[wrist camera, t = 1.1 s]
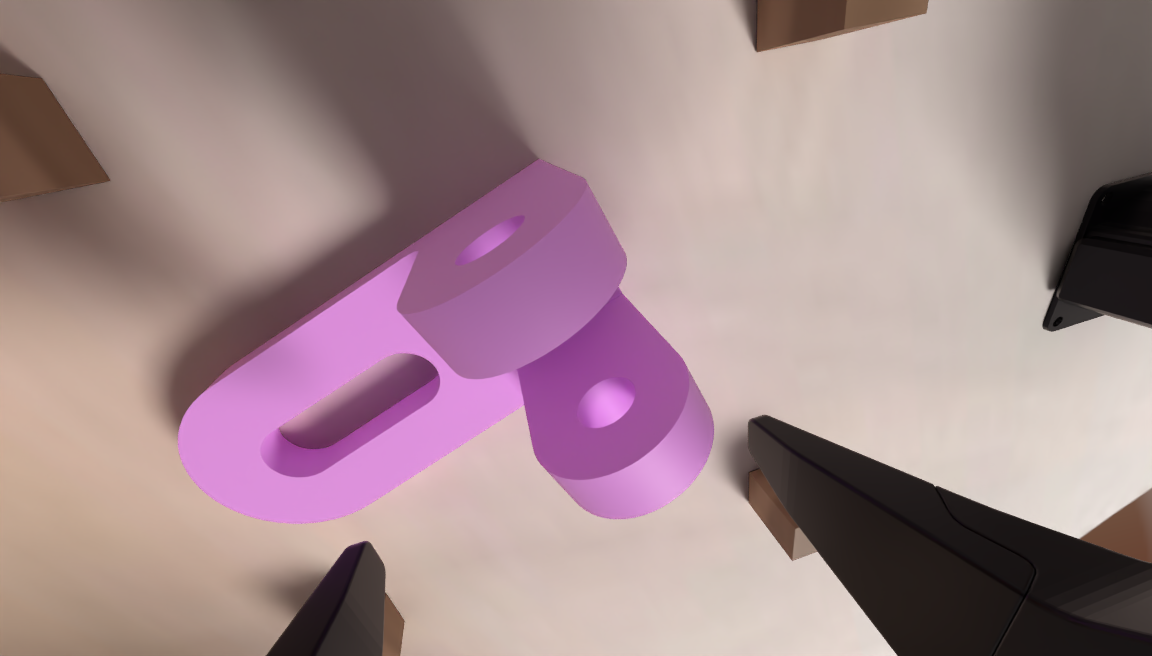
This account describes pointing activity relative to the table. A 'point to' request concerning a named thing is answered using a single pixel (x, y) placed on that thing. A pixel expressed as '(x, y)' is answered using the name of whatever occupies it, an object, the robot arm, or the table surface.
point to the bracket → (467, 369)
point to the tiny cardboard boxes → (63, 161)
